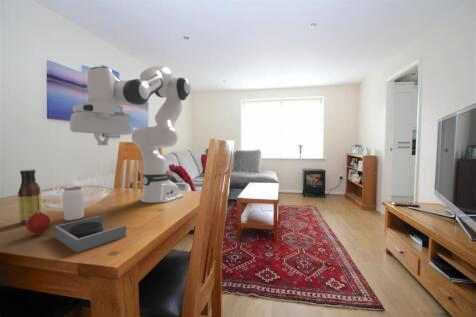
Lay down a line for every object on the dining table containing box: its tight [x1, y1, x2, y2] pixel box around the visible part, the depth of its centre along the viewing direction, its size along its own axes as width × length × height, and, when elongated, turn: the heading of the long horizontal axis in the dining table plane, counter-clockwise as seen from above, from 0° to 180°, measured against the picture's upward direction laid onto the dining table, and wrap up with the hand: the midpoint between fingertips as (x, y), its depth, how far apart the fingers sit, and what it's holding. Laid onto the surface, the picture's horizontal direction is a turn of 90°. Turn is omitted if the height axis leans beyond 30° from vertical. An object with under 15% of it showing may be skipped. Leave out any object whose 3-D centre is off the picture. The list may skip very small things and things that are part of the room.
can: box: [62, 186, 85, 222], centre depth 87 cm, size 6×6×12 cm
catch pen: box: [53, 214, 127, 254], centre depth 70 cm, size 14×18×4 cm
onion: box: [25, 211, 51, 236], centre depth 71 cm, size 6×6×8 cm
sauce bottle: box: [17, 168, 43, 225], centre depth 83 cm, size 7×6×20 cm
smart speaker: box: [69, 222, 104, 239], centre depth 69 cm, size 9×9×4 cm
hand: (102, 145), depth 86 cm, fingers closed
